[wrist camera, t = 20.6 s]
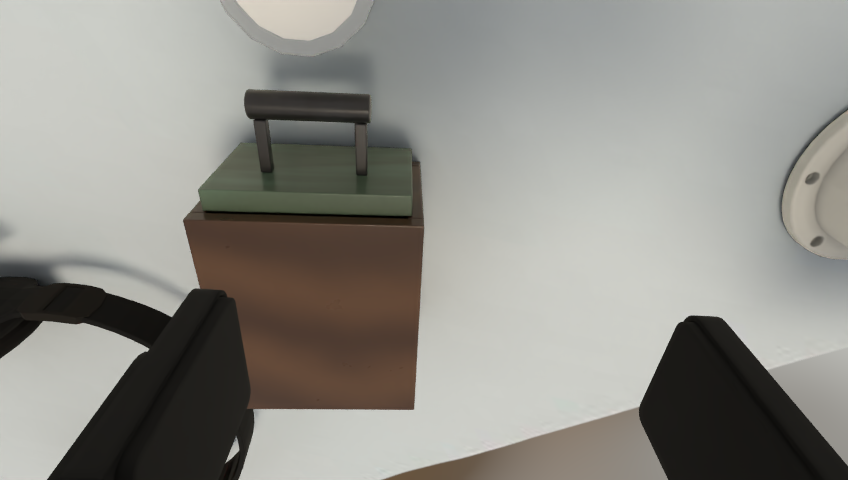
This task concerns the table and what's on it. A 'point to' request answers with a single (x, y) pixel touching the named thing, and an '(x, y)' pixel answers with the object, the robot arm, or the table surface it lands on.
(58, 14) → the table surface
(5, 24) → the table surface
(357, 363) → the cabinet
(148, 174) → the table surface
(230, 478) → the headset
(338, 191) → the drawer
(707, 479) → the robot arm
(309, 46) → the white cup
